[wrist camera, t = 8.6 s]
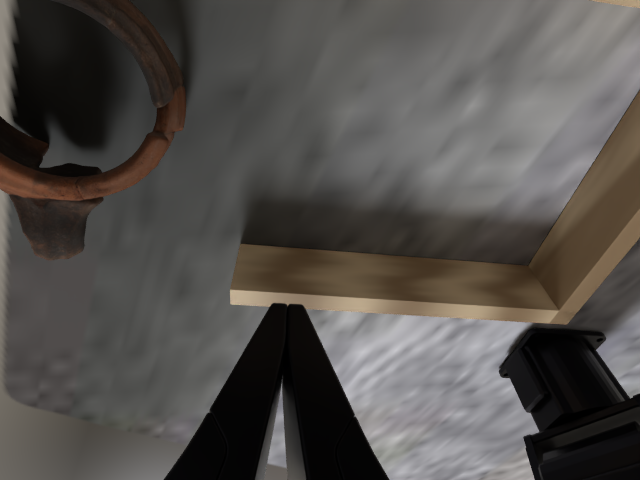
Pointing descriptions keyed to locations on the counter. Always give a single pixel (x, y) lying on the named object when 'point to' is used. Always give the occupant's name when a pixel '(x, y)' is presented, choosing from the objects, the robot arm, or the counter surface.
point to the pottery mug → (85, 181)
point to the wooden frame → (467, 276)
